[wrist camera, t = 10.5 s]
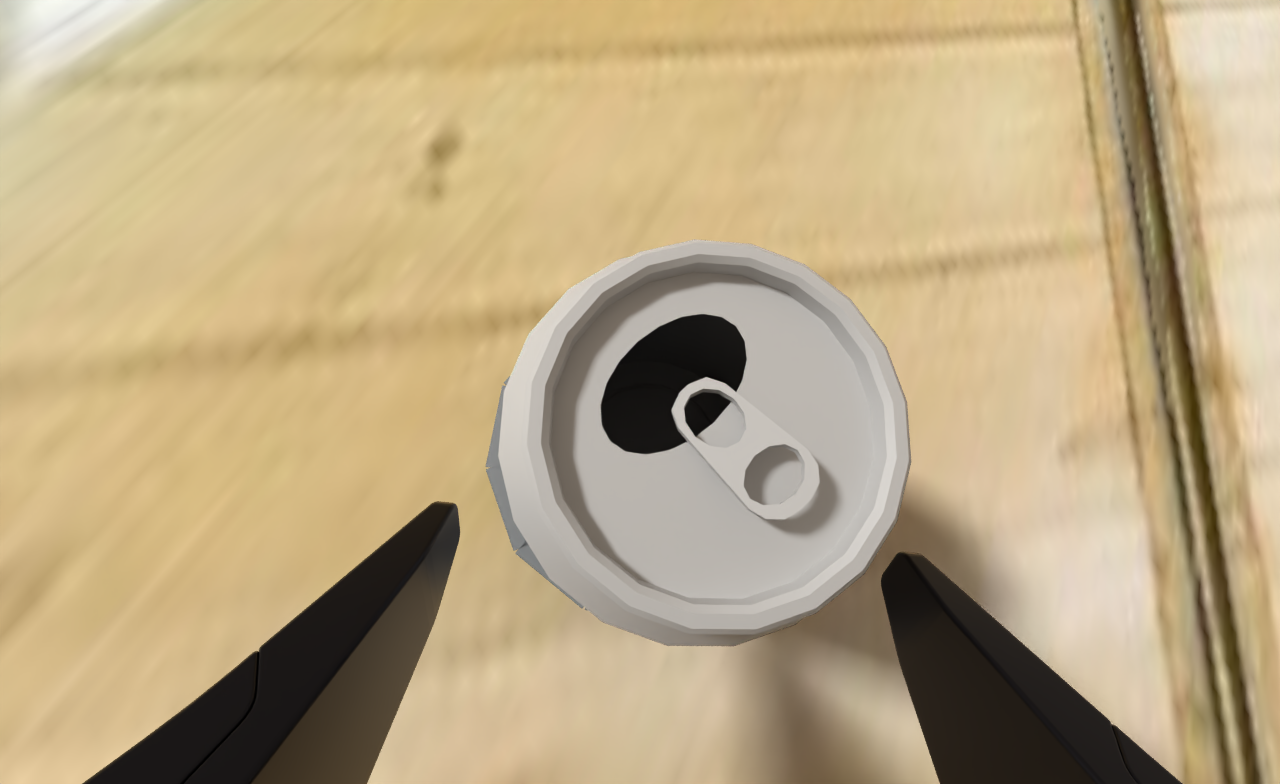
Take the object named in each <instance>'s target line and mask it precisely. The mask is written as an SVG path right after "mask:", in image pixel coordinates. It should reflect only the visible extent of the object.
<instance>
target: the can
mask: <svg viewBox="0 0 1280 784" xmlns="http://www.w3.org/2000/svg"><path fill="white" fill-rule="evenodd" d="M498 457H499V461H500V465H501V470H502V474H503V478H504V482H505V487H506V491H507V495H508V499H509V503H510V508H511V512H512V516H513V520H514V522H515V524H516V525H517V527H518V529H519V530H520V532H521V533H522V535H523V537H524V538H525V540H526V542H527V543H528V545H529V546H530V548H531V550H532V551H533V553H534V554H535V556H536V558H537V559H538V561H539V562H540V564H541V566H542V567H543V569H544V570H545V572H546V574H547V575H548V577H549V579H551V580H552V581H553V582H554V583H555V584H557V585H558V586H559V587H560V588H562V589H563V590H564V591H565V592H566V593H568V594H569V595H570V596H571V597H573V598H574V599H575V600H576V601H577V602H579V603H580V604H581V605H582V606H584V607H585V608H586V609H587V610H588V611H590V612H591V613H592V614H593V615H595V616H596V617H597V618H598V619H599V620H601V621H602V622H603V623H606V624H609V625H612V626H614V627H617V628H620V629H623V630H625V631H628V632H631V633H634V634H636V635H639V636H642V637H645V638H647V639H650V640H653V641H656V642H658V643H661V644H664V645H667V646H736V645H738V644H741V643H744V642H747V641H750V640H753V639H756V638H758V637H761V636H764V635H767V634H770V633H773V632H775V631H778V630H781V629H784V628H787V627H790V626H793V625H795V624H797V623H798V622H799V621H800V620H802V619H803V618H804V617H807V616H810V615H813V614H815V613H817V612H818V611H819V610H821V609H822V608H823V607H824V606H825V605H827V604H828V603H829V602H830V601H832V600H833V599H834V598H835V597H837V596H838V595H839V594H840V593H842V592H843V591H844V590H845V589H846V588H848V587H849V586H850V585H851V584H853V583H854V582H855V581H856V580H858V579H859V578H860V577H861V576H862V575H864V574H865V572H866V571H867V569H868V567H869V566H870V564H871V563H872V561H873V559H874V558H875V556H876V554H877V553H878V551H879V550H880V548H881V546H882V545H883V543H884V542H885V540H886V538H887V537H888V535H889V533H890V532H891V530H892V529H893V527H894V525H895V524H896V522H897V519H898V515H899V511H900V507H901V503H902V498H903V494H904V490H905V486H906V482H907V478H908V473H909V469H910V465H911V452H910V438H909V423H908V409H907V401H906V398H905V395H904V393H903V390H902V387H901V385H900V382H899V379H898V377H897V374H896V371H895V369H894V366H893V364H892V361H891V358H890V356H889V353H888V350H887V348H886V346H885V344H884V343H883V342H882V340H881V339H880V338H879V336H878V335H877V334H876V332H875V331H874V330H873V328H872V327H871V326H870V324H869V323H868V322H867V320H866V319H865V318H864V316H863V315H862V314H861V312H860V311H859V310H858V308H857V307H856V306H855V304H854V303H853V302H852V300H851V299H850V298H848V297H847V296H846V295H844V294H843V293H842V292H840V291H839V290H838V289H836V288H835V287H834V286H833V285H831V284H830V283H829V282H827V281H826V280H825V279H823V278H822V277H821V276H819V275H818V274H817V273H815V272H814V271H813V270H811V269H810V268H809V267H807V266H806V265H805V264H802V263H800V262H797V261H794V260H792V259H789V258H787V257H784V256H781V255H779V254H776V253H774V252H771V251H768V250H766V249H763V248H761V247H758V246H755V245H753V244H745V243H732V242H719V241H706V240H691V241H686V242H682V243H678V244H673V245H669V246H664V247H660V248H655V249H651V250H647V251H642V252H639V253H637V254H635V255H634V256H631V257H627V258H622V259H619V260H617V261H615V262H614V263H612V264H610V265H609V266H607V267H605V268H604V269H602V270H600V271H598V272H597V273H595V274H593V275H592V276H590V277H588V278H586V279H585V280H583V281H581V282H580V283H578V284H576V285H575V286H573V287H571V288H569V289H568V290H567V291H566V293H565V294H564V295H563V296H562V297H561V298H560V299H559V300H558V302H557V303H556V304H555V305H554V306H553V307H552V308H551V309H550V311H549V312H548V313H547V314H546V315H545V316H544V317H543V318H542V320H541V321H540V322H539V323H538V324H537V325H536V326H535V327H534V329H533V330H532V331H531V332H530V333H529V335H528V337H527V339H526V341H525V344H524V346H523V348H522V351H521V353H520V355H519V358H518V360H517V362H516V365H515V367H514V369H513V371H512V374H511V376H510V378H509V381H508V383H507V385H506V388H505V390H504V396H503V408H502V419H501V430H500V441H499V452H498Z"/></svg>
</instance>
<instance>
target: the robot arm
mask: <svg viewBox="0 0 1280 784" xmlns="http://www.w3.org/2000/svg"><path fill="white" fill-rule="evenodd" d="M459 537H460V526H459V516H458V508H457V505H456V504H454V503H449V502H439V501H437V502H434V503H432V504H431V505H429V506H428V507H427V508H426V509H425V510H423V511H422V512H421V513H420V514H419V515H417V516H416V517H415V518H414V519H413V520H411V521H410V522H409V523H408V524H407V525H405V526H404V527H403V528H402V529H401V530H399V531H398V532H397V533H396V534H395V535H393V536H392V537H391V538H390V539H389V540H387V541H386V542H385V543H384V544H383V545H381V546H380V547H379V548H378V549H377V550H375V551H374V552H373V553H372V554H371V555H370V556H368V557H367V558H366V559H365V560H364V561H362V562H361V563H360V564H359V565H358V566H356V567H355V568H354V569H353V570H352V571H350V572H349V573H348V574H347V575H346V576H344V577H343V578H342V579H341V580H340V581H338V582H337V583H336V584H335V585H334V586H332V587H331V588H330V589H329V590H328V591H326V592H325V593H324V594H323V595H322V596H320V597H319V598H318V599H317V600H316V601H315V602H313V603H312V604H311V605H310V606H309V607H307V608H306V609H305V610H304V611H303V612H301V613H300V614H299V615H298V616H297V617H295V618H294V619H293V620H292V621H291V622H289V623H288V624H287V625H286V626H285V627H283V628H282V629H281V630H280V631H279V632H277V633H276V634H275V635H274V636H273V637H271V638H270V639H269V640H268V641H267V642H265V643H264V644H263V645H262V646H261V647H260V649H259V652H258V651H255V652H253V653H252V654H251V655H250V656H248V657H247V658H246V659H245V660H244V661H242V662H241V663H240V664H239V665H238V666H236V667H235V668H234V669H233V670H232V671H231V672H229V673H228V674H227V675H226V676H224V677H223V678H222V679H221V680H219V681H218V682H217V683H216V684H214V685H213V686H212V687H211V688H209V689H208V690H207V691H206V692H204V693H203V694H202V695H201V696H199V697H198V698H197V699H196V700H195V701H193V702H192V703H191V704H189V705H188V706H187V707H185V708H184V709H183V710H181V711H180V712H179V713H177V714H176V715H175V716H173V717H172V718H171V719H170V720H168V721H167V722H166V723H164V724H163V725H162V726H160V727H159V728H158V729H156V730H155V731H154V732H152V733H151V734H150V735H148V736H147V737H146V738H144V739H143V740H142V741H140V742H139V743H137V744H136V745H135V746H133V747H132V748H131V749H129V750H128V751H126V752H125V753H124V754H122V755H121V756H120V757H118V758H117V759H115V760H114V761H113V762H111V763H110V764H109V765H107V766H106V767H104V768H103V769H102V770H100V771H99V772H98V773H96V774H95V775H94V776H92V777H91V778H89V779H88V780H87V781H85V782H84V783H83V784H367V782H368V780H369V777H370V775H371V773H372V770H373V768H374V765H375V763H376V761H377V758H378V756H379V753H380V751H381V749H382V746H383V744H384V742H385V739H386V737H387V734H388V732H389V730H390V727H391V725H392V723H393V720H394V718H395V715H396V713H397V711H398V708H399V706H400V703H401V701H402V699H403V696H404V694H405V692H406V689H407V687H408V684H409V682H410V680H411V677H412V675H413V672H414V670H415V668H416V665H417V663H418V661H419V658H420V656H421V653H422V651H423V649H424V646H425V644H426V641H427V639H428V637H429V634H430V632H431V629H432V627H433V624H434V622H435V619H436V616H437V613H438V610H439V607H440V603H441V600H442V597H443V593H444V590H445V586H446V583H447V580H448V576H449V573H450V570H451V566H452V563H453V559H454V556H455V553H456V549H457V546H458V542H459ZM881 587H882V591H883V596H884V600H885V604H886V609H887V613H888V617H889V622H890V626H891V630H892V635H893V639H894V643H895V647H896V651H897V655H898V659H899V662H900V666H901V669H902V672H903V675H904V678H905V681H906V684H907V687H908V690H909V693H910V696H911V699H912V702H913V705H914V708H915V711H916V714H917V717H918V720H919V723H920V726H921V729H922V732H923V735H924V738H925V741H926V744H927V747H928V750H929V753H930V756H931V759H932V762H933V765H934V767H935V770H936V773H937V776H938V779H939V782H940V784H1182V783H1181V782H1180V781H1179V780H1177V779H1176V778H1175V777H1174V776H1173V775H1172V774H1170V773H1169V772H1168V771H1167V770H1166V769H1165V768H1163V767H1162V766H1161V765H1160V764H1159V763H1158V762H1156V761H1155V760H1154V759H1153V758H1152V757H1151V756H1150V755H1148V754H1147V753H1146V752H1145V751H1144V750H1143V749H1141V748H1140V747H1139V746H1138V745H1137V744H1136V743H1135V742H1133V741H1132V740H1131V739H1130V738H1129V737H1128V736H1127V735H1126V734H1124V733H1123V732H1122V731H1121V730H1120V729H1119V728H1118V727H1117V726H1115V725H1111V722H1110V721H1109V720H1108V719H1107V718H1106V717H1105V716H1104V715H1103V714H1102V713H1101V712H1099V711H1098V710H1097V709H1096V708H1095V707H1094V706H1093V705H1092V704H1090V703H1089V702H1088V701H1087V700H1086V699H1085V698H1084V697H1082V696H1081V695H1080V694H1079V693H1078V692H1077V691H1076V690H1075V689H1073V688H1072V687H1071V686H1070V685H1069V684H1068V683H1067V682H1065V681H1064V680H1063V679H1062V678H1061V677H1060V676H1059V675H1058V674H1056V673H1055V672H1054V671H1053V670H1052V669H1051V668H1050V667H1049V666H1047V665H1046V664H1045V663H1044V662H1043V661H1042V660H1041V659H1039V658H1038V657H1037V656H1036V655H1035V654H1034V653H1033V652H1032V651H1030V650H1029V649H1028V648H1027V647H1026V646H1025V645H1024V644H1023V643H1021V642H1020V641H1019V640H1018V639H1017V638H1016V637H1015V636H1013V635H1012V634H1011V633H1010V632H1009V631H1008V630H1007V629H1006V628H1004V627H1003V626H1002V625H1001V624H1000V623H999V622H998V621H996V620H995V619H994V618H993V617H992V616H991V615H990V614H989V613H987V612H986V611H985V610H984V609H983V608H982V607H981V606H980V605H978V604H977V603H976V602H975V601H974V600H973V599H972V598H970V597H969V596H968V595H967V594H966V593H965V592H964V591H963V590H961V589H960V588H959V587H958V586H957V585H956V584H955V583H954V582H952V581H951V580H950V579H949V578H948V577H947V576H946V575H944V574H943V573H942V572H941V571H940V570H939V569H938V568H937V567H935V566H934V565H933V564H932V563H931V562H930V561H929V560H927V559H926V558H925V557H924V556H923V555H921V554H918V553H911V552H899V553H898V554H897V555H896V556H895V557H894V559H893V560H892V562H891V563H890V564H889V566H888V567H887V569H886V570H885V572H884V573H883V575H882V578H881Z"/></svg>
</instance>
